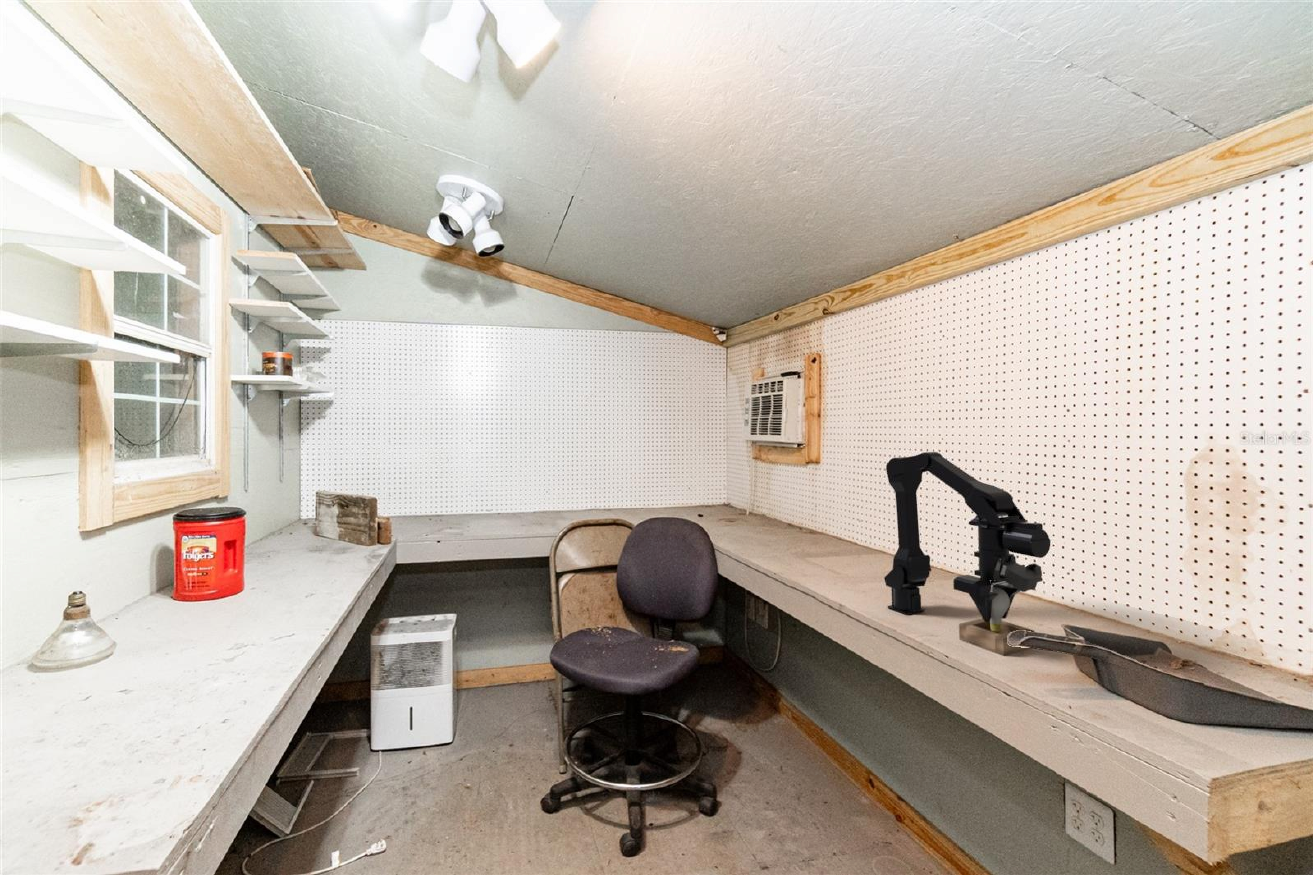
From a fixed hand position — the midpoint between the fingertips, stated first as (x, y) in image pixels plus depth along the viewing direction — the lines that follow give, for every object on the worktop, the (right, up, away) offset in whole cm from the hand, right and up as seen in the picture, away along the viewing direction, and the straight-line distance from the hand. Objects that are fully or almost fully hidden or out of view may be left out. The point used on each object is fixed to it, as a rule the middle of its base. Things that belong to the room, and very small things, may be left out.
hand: (995, 620), depth 119 cm
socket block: (0, -5, 0) cm, 5 cm away
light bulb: (0, -3, 0) cm, 3 cm away
